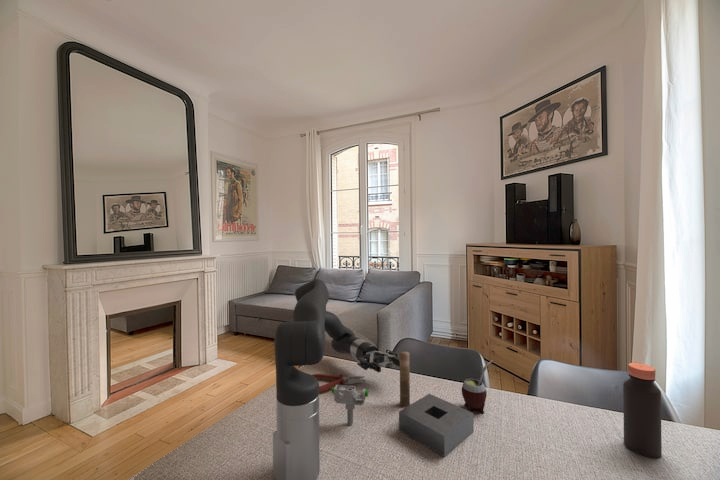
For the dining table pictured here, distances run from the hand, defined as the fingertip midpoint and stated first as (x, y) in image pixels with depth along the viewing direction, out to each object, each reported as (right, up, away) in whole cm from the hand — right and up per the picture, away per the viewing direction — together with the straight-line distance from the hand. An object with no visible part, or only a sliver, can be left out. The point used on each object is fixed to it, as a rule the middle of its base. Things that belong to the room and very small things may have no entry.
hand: (390, 366), depth 100 cm
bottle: (+59, -9, -26) cm, 65 cm away
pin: (+4, -9, -6) cm, 12 cm away
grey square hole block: (+10, -9, -19) cm, 24 cm away
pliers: (-20, -10, +6) cm, 23 cm away
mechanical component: (-13, -10, -16) cm, 23 cm away
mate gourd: (+25, -10, -8) cm, 28 cm away
